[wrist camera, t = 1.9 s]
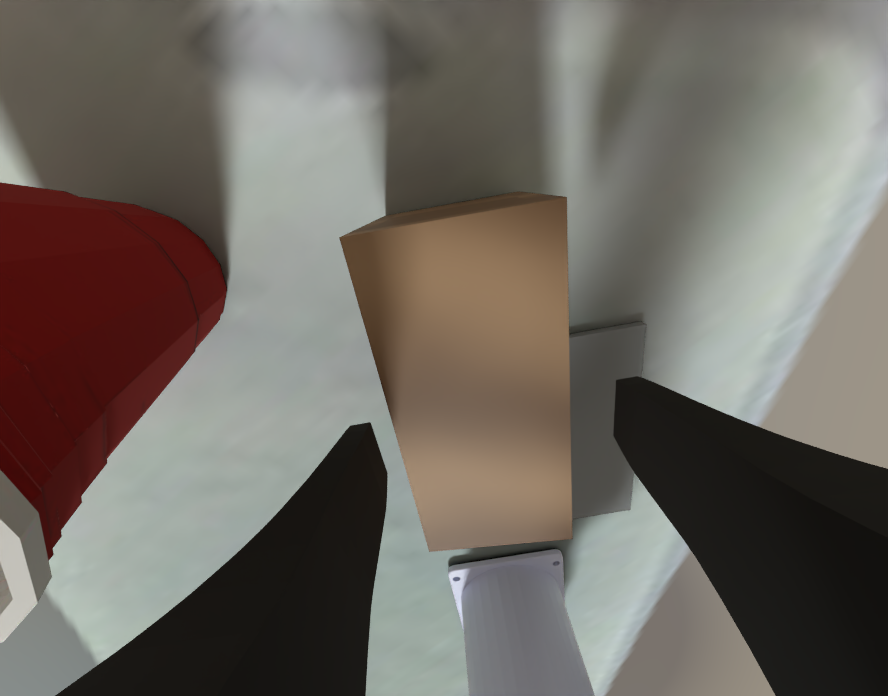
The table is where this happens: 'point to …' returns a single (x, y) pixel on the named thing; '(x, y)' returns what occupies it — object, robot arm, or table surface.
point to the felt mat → (600, 416)
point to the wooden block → (474, 362)
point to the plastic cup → (82, 355)
